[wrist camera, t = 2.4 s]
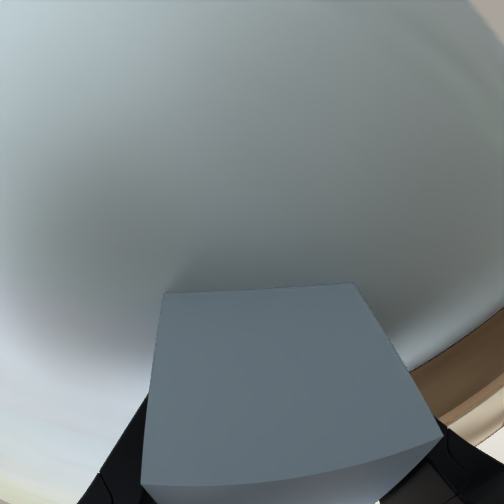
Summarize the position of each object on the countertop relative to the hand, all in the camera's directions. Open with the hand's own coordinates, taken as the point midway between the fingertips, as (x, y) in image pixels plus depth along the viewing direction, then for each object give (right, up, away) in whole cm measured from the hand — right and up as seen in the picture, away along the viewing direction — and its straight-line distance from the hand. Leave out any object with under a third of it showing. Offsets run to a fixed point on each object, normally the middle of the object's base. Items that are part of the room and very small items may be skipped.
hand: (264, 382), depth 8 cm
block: (0, +1, +1) cm, 1 cm away
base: (+9, -5, +5) cm, 11 cm away
